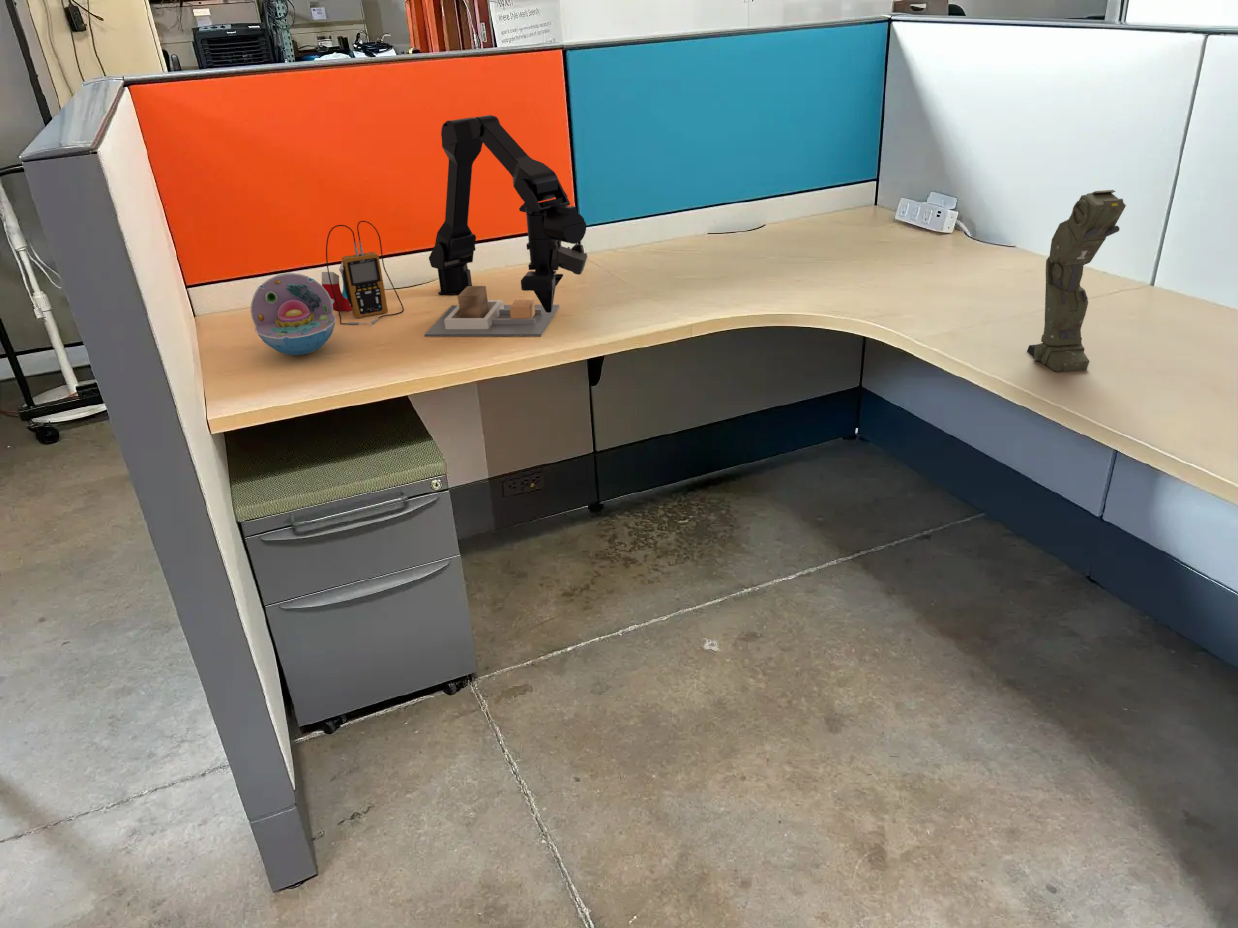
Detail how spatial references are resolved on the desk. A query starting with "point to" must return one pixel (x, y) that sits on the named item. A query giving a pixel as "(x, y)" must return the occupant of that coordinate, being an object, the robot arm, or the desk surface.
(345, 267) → the multimeter
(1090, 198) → the mechanical leg
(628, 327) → the desk surface
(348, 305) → the magnet
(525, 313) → the block
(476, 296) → the block
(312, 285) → the educational model
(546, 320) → the grey base board
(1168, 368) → the desk surface
